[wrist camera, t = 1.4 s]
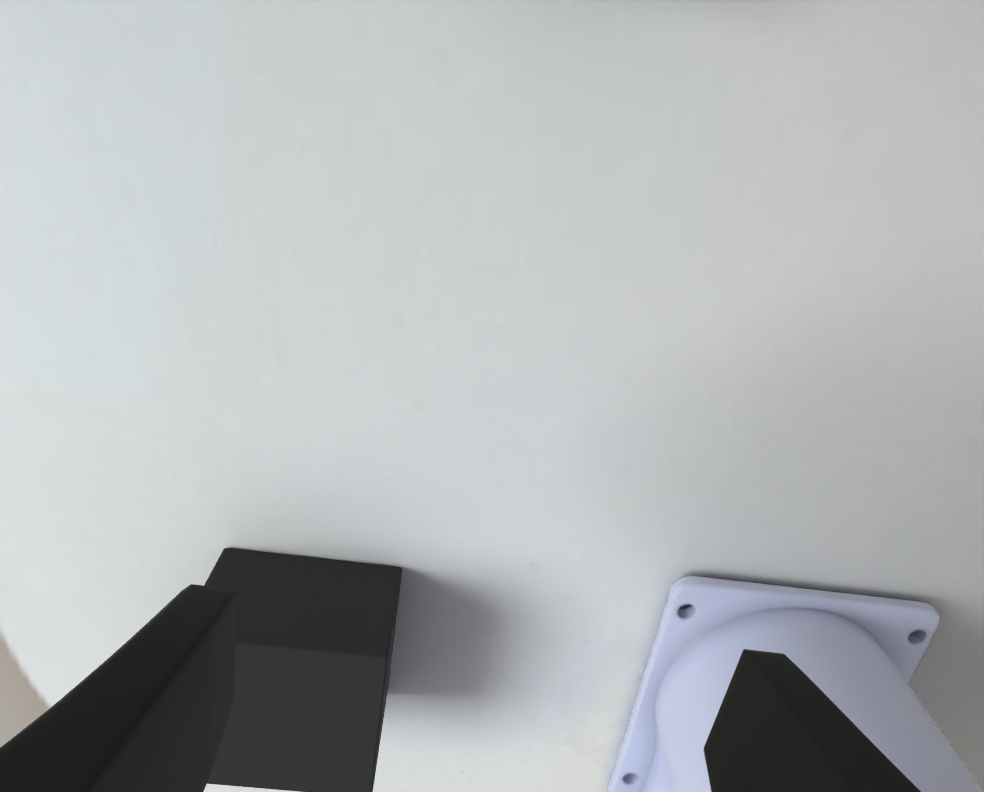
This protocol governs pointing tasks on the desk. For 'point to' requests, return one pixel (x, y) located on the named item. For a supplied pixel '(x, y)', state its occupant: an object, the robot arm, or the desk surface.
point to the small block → (306, 671)
